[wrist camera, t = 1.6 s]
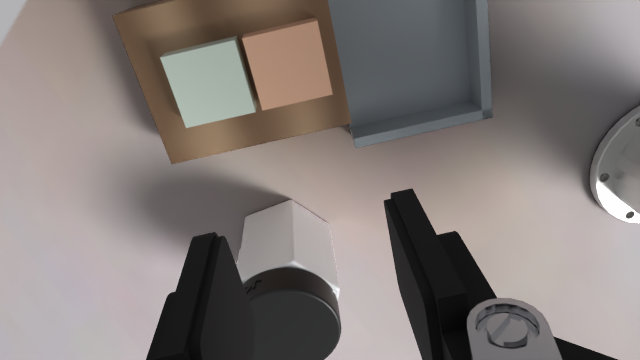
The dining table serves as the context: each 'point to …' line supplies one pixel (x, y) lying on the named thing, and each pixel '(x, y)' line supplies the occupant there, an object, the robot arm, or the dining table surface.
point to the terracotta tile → (288, 63)
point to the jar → (290, 283)
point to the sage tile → (209, 81)
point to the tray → (412, 65)
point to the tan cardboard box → (236, 20)
